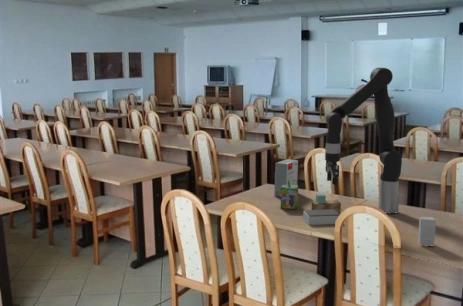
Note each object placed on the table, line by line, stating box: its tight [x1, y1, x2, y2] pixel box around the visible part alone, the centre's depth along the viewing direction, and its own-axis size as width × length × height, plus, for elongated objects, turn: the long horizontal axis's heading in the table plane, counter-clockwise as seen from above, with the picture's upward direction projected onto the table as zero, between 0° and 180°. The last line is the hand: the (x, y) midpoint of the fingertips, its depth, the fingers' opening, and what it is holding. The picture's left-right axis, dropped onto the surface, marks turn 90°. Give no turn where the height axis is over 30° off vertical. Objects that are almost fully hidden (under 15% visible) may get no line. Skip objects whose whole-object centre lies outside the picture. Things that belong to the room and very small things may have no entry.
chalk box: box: [280, 180, 299, 210], centre depth 272 cm, size 9×9×15 cm
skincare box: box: [417, 216, 437, 246], centre depth 217 cm, size 6×4×12 cm
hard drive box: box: [273, 158, 299, 198], centre depth 298 cm, size 16×8×20 cm, turn 147°
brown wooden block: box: [311, 199, 342, 214], centre depth 263 cm, size 14×5×6 cm, turn 97°
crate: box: [315, 193, 327, 203], centre depth 262 cm, size 4×4×4 cm
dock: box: [302, 209, 341, 226], centre depth 249 cm, size 16×10×4 cm, turn 97°
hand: (331, 182), depth 261 cm, fingers open, 8 cm apart
